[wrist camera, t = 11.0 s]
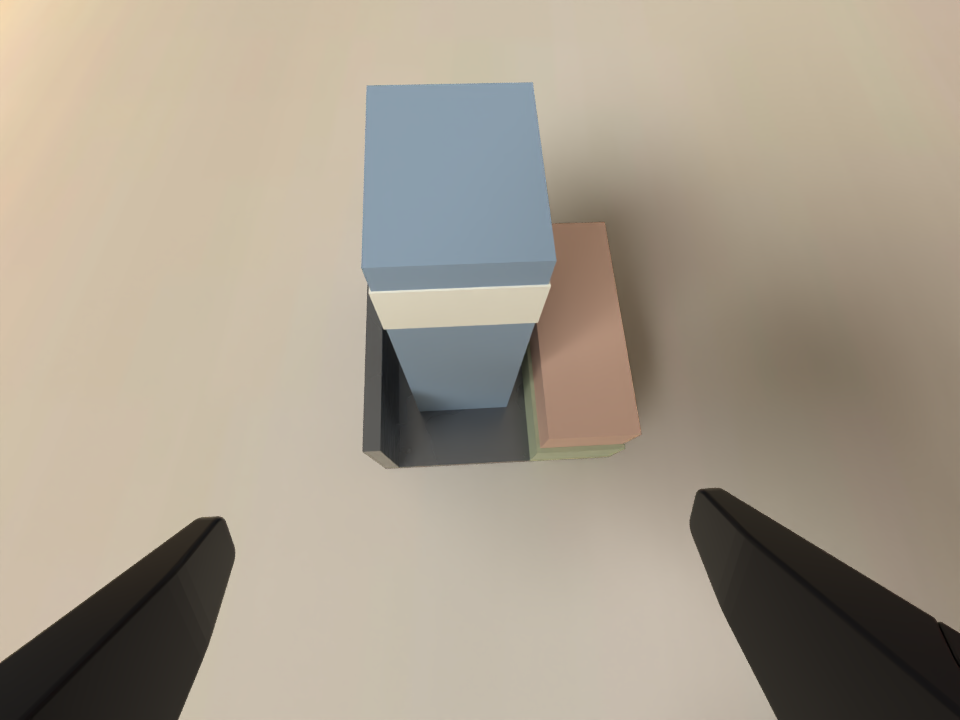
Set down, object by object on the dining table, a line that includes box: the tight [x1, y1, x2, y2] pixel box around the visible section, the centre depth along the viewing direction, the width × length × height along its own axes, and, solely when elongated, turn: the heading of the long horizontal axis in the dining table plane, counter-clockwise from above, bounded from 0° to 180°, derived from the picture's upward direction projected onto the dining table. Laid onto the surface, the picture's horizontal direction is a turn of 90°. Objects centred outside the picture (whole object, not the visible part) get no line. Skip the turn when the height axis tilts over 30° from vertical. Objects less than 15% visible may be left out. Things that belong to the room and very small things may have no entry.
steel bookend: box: [363, 286, 530, 469], centre depth 20 cm, size 10×6×5 cm, turn 3°
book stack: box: [521, 222, 641, 461], centre depth 20 cm, size 10×4×4 cm, turn 3°
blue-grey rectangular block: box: [361, 82, 557, 411], centre depth 16 cm, size 5×4×12 cm
